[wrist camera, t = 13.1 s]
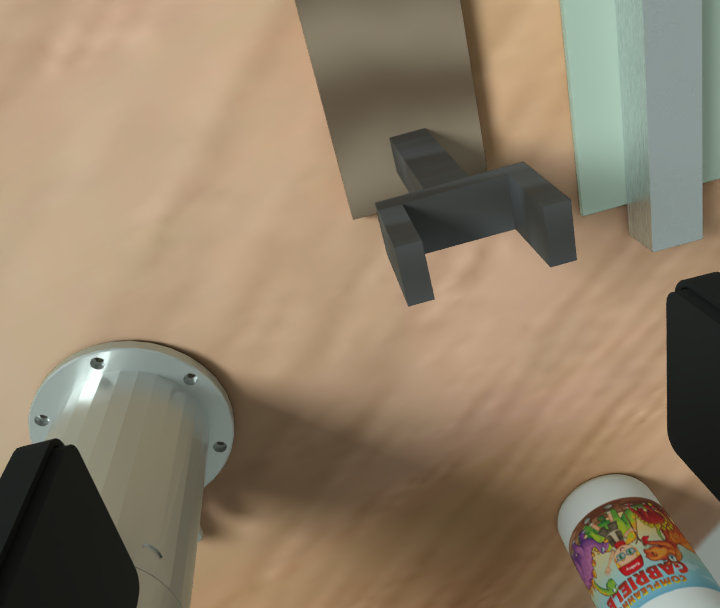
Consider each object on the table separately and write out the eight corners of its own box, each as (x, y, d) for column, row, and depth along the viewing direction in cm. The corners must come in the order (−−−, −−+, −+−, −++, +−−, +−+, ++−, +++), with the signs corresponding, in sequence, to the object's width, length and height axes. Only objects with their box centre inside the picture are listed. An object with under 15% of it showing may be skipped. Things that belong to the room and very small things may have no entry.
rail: (675, 221, 43) (702, 238, 40) (628, 233, 43) (652, 252, 40) (664, -258, 32) (701, -277, 29) (601, -240, 32) (631, -258, 29)
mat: (722, 174, 42) (726, 176, 42) (580, 214, 42) (583, 216, 42) (725, -221, 33) (730, -223, 33) (543, -171, 33) (546, -172, 33)
